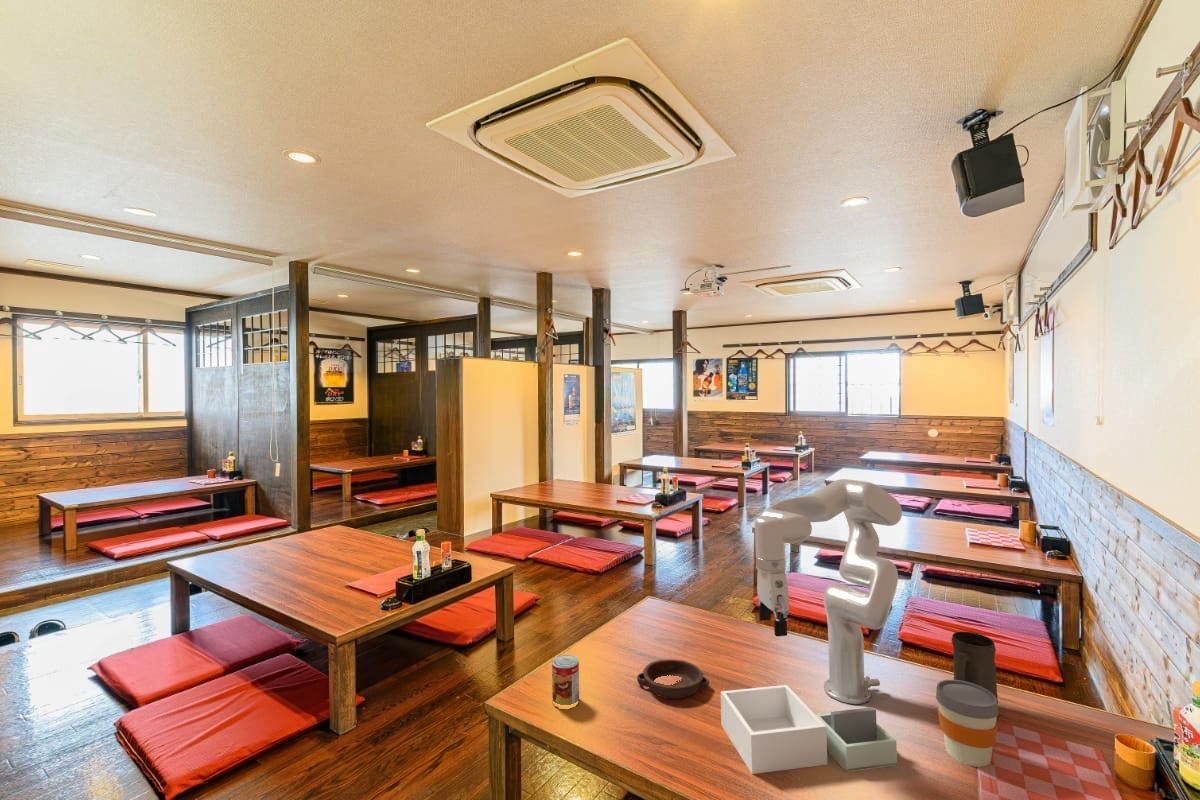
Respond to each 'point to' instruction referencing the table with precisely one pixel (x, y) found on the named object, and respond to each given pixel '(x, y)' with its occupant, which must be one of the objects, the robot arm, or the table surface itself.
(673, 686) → the dish
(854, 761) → the small crate
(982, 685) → the beer stein
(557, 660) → the canned food
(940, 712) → the reusable coffee cup
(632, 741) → the table surface
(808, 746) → the big crate
